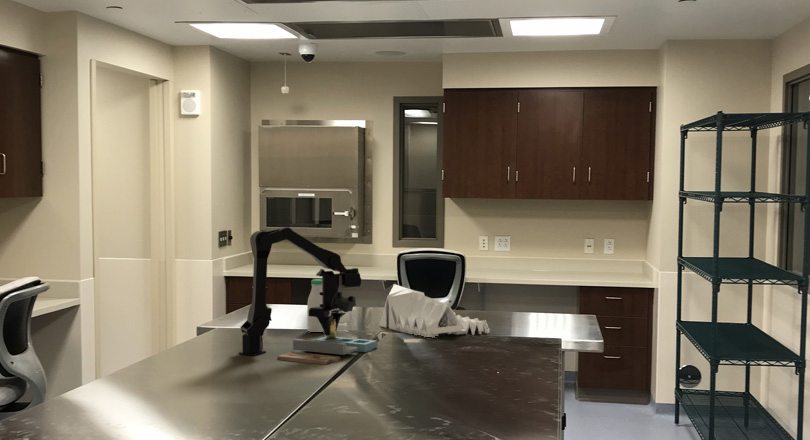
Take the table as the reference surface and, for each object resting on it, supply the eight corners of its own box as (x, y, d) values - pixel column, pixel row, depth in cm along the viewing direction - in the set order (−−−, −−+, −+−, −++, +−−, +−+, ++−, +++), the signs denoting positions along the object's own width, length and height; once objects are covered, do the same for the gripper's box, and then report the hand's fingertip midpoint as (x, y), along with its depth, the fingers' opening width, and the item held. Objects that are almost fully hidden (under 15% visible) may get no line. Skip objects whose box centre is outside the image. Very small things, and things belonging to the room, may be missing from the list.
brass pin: (332, 343, 246) (332, 320, 246) (324, 342, 247) (324, 319, 247) (337, 342, 249) (337, 318, 249) (329, 341, 250) (329, 318, 250)
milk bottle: (326, 333, 274) (326, 280, 274) (306, 333, 274) (305, 280, 274) (328, 330, 282) (328, 278, 282) (309, 330, 282) (308, 278, 282)
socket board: (365, 352, 237) (365, 344, 237) (314, 347, 246) (314, 339, 246) (377, 348, 244) (377, 340, 244) (327, 343, 254) (327, 336, 254)
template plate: (325, 364, 218) (325, 361, 218) (277, 359, 226) (277, 355, 226) (339, 359, 225) (339, 356, 225) (292, 354, 234) (292, 351, 234)
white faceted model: (491, 334, 274) (491, 290, 274) (434, 341, 259) (434, 294, 259) (427, 320, 308) (427, 281, 308) (374, 326, 294) (374, 285, 293)
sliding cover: (343, 354, 226) (343, 344, 226) (293, 349, 235) (293, 339, 235) (357, 349, 234) (357, 339, 234) (309, 345, 243) (309, 335, 243)
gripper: (335, 292, 236) (335, 340, 236) (364, 287, 253) (364, 332, 253) (307, 291, 241) (307, 338, 241) (337, 286, 258) (337, 329, 258)
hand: (330, 334), depth 248 cm, fingers open, 4 cm apart
